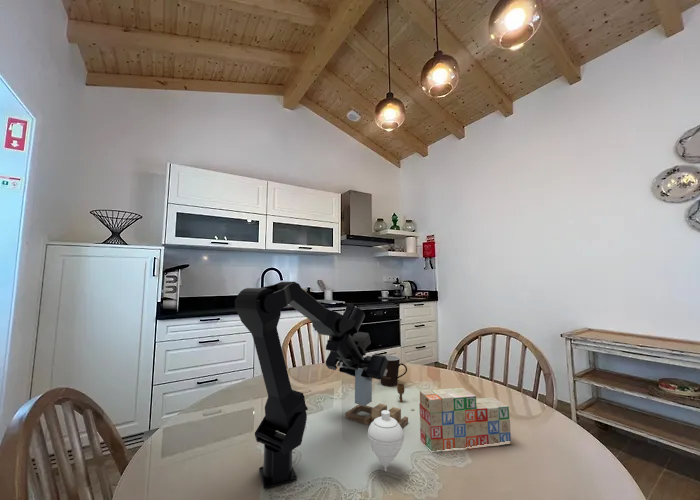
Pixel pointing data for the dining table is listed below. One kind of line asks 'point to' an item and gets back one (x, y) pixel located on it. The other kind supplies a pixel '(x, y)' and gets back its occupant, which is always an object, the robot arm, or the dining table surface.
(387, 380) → the coffee mug
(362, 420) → the rack
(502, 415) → the stack of blocks
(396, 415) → the oak offcut
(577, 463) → the dining table surface
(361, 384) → the batten
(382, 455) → the spinning top
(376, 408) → the oak offcut
